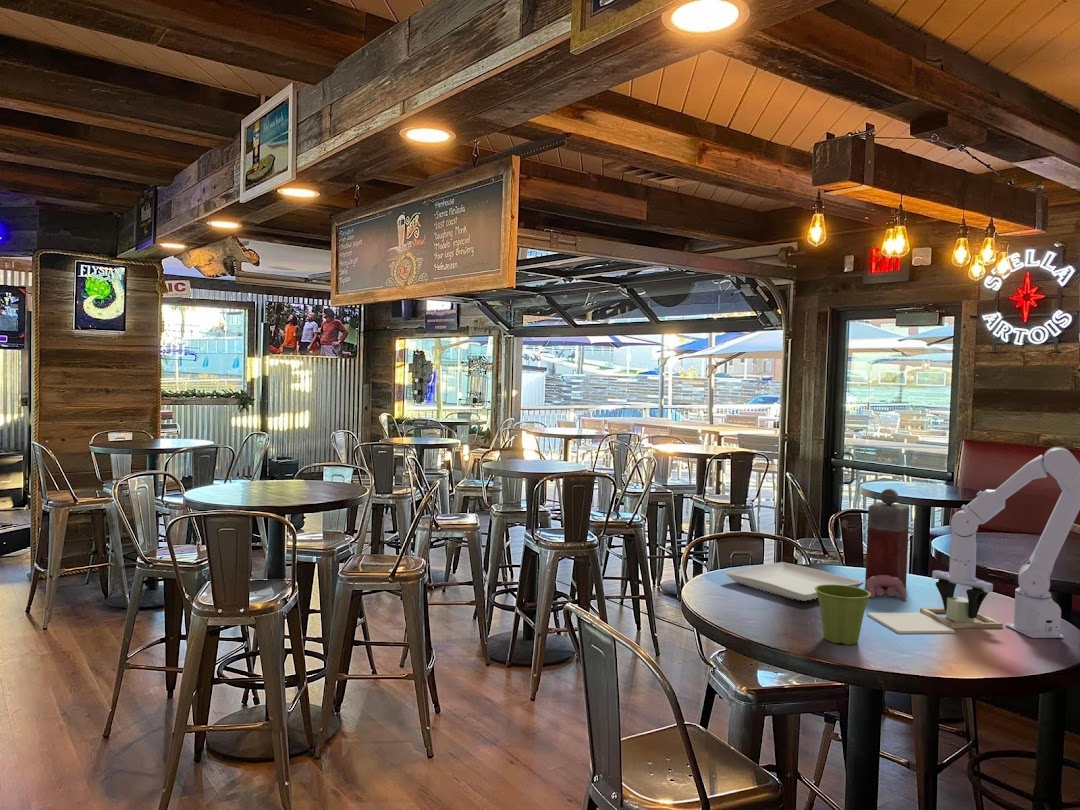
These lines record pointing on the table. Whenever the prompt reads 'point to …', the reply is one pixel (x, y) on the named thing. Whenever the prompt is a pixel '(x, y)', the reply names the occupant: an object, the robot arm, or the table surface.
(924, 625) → the beige mat
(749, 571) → the square plate
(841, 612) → the plant pot
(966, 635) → the table surface
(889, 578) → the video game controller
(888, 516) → the brown canister
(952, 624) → the maple pocket frame
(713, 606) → the table surface
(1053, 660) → the table surface
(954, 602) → the sage block
